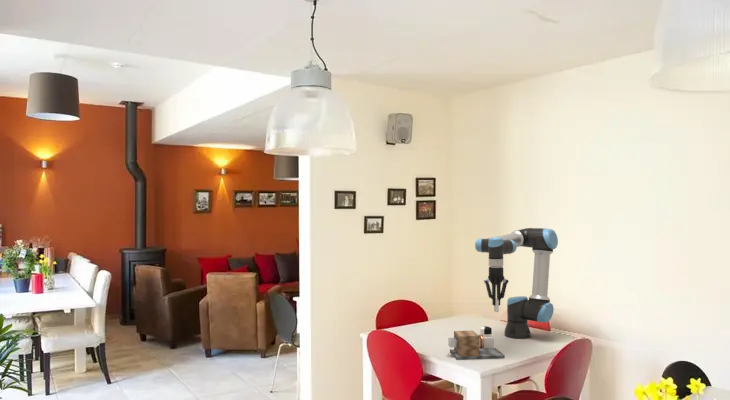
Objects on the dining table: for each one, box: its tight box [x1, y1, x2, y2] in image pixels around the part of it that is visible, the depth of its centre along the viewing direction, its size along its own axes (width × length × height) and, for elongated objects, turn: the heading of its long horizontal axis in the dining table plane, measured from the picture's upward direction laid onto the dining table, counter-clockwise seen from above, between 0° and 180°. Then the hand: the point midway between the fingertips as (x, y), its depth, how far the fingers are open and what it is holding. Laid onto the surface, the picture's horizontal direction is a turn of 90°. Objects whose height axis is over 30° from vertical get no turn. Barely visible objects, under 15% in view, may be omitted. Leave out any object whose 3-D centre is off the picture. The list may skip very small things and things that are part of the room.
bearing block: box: [449, 330, 506, 361], centre depth 283 cm, size 25×14×12 cm, turn 95°
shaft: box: [448, 334, 484, 349], centre depth 283 cm, size 18×7×7 cm, turn 95°
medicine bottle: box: [479, 326, 495, 349], centre depth 295 cm, size 7×7×12 cm
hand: (496, 311), depth 286 cm, fingers closed
